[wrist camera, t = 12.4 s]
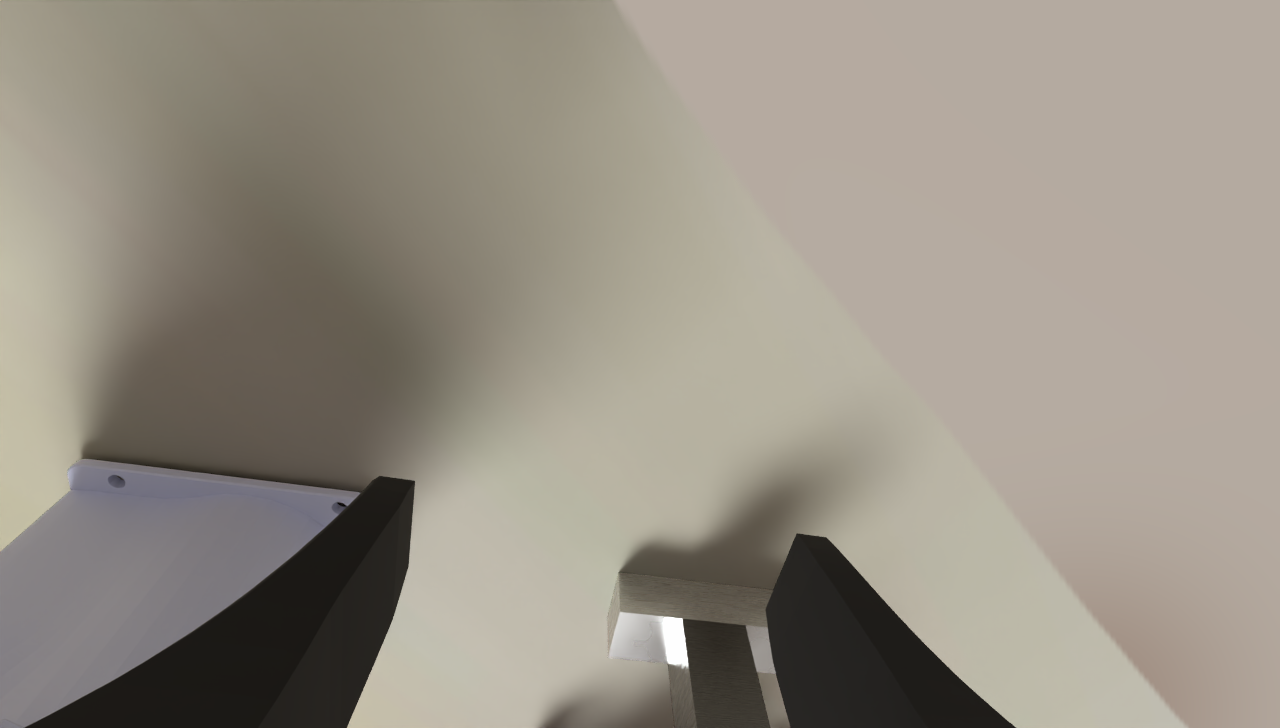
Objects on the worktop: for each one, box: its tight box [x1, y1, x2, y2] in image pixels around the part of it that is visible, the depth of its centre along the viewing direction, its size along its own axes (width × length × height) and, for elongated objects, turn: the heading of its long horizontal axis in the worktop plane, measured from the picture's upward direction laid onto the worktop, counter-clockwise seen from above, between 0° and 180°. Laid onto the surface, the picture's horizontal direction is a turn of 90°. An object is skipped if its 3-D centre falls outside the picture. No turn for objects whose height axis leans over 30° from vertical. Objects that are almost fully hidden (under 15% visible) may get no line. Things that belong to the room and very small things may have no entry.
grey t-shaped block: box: [607, 572, 776, 728], centre depth 23 cm, size 7×2×7 cm, turn 79°
